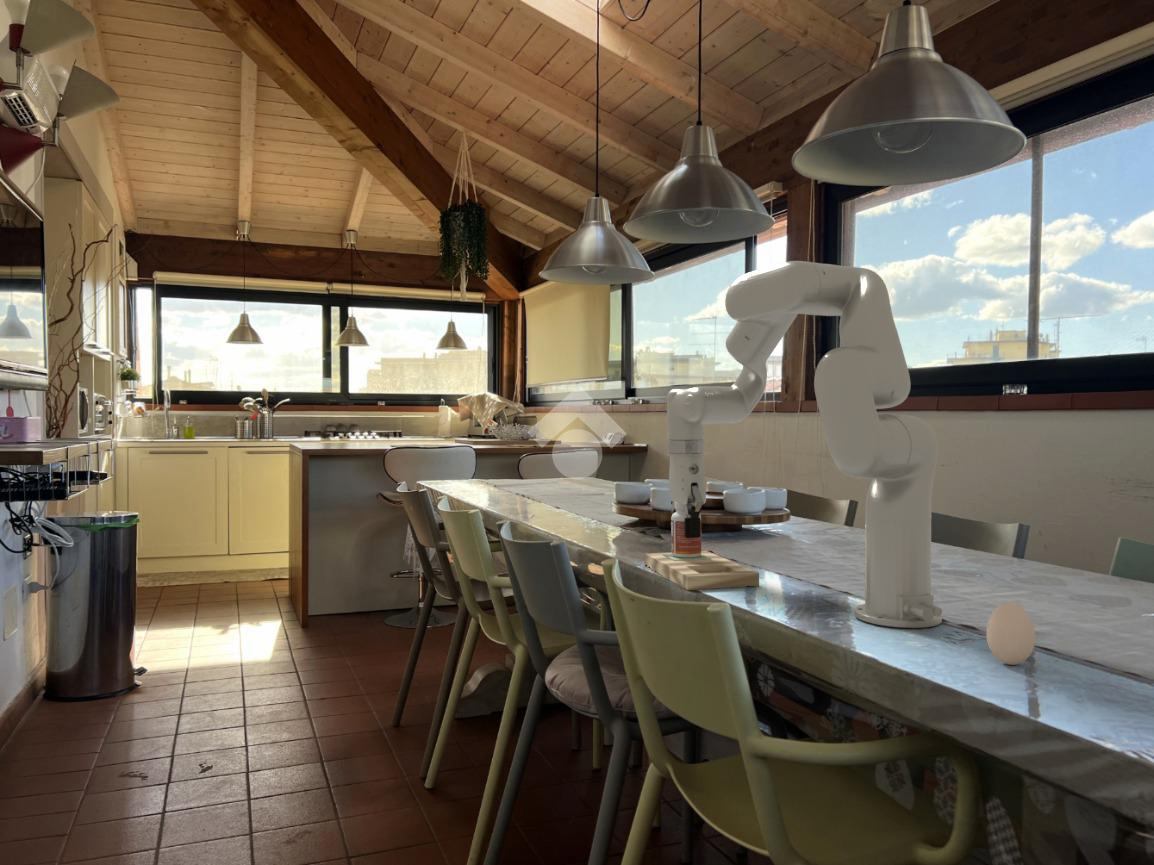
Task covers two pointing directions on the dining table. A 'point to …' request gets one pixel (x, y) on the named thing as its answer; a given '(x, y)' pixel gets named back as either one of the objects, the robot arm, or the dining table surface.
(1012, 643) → the egg
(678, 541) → the pill bottle
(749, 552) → the dining table surface
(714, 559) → the pocket board
